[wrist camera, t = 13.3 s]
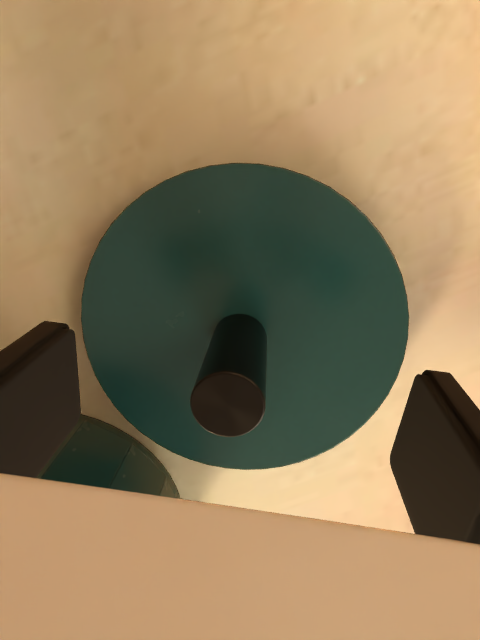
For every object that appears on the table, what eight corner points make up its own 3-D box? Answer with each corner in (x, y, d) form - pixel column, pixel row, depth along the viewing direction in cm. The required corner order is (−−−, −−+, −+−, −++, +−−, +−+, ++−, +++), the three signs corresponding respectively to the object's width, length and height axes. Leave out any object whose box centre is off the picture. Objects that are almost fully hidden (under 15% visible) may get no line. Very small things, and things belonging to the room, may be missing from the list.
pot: (190, 427, 21) (140, 583, 13) (178, 601, 26) (136, 793, 18) (-57, 395, 21) (-254, 525, 13) (-24, 571, 26) (-154, 746, 18)
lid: (439, 183, 16) (550, 188, 10) (363, 470, 21) (403, 597, 15) (86, 146, 16) (-30, 127, 10) (96, 435, 21) (24, 543, 15)
